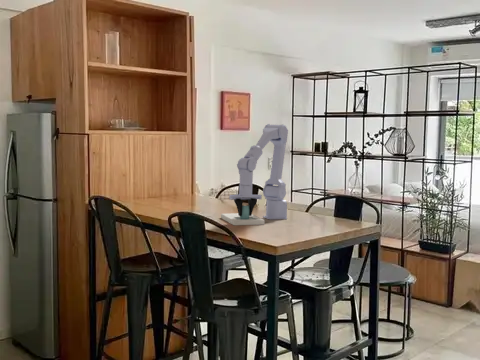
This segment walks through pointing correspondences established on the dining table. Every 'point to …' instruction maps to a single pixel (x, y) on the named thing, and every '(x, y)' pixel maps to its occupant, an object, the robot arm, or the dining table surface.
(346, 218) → the dining table surface
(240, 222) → the white box with opening
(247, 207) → the cylinder
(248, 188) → the robot arm
